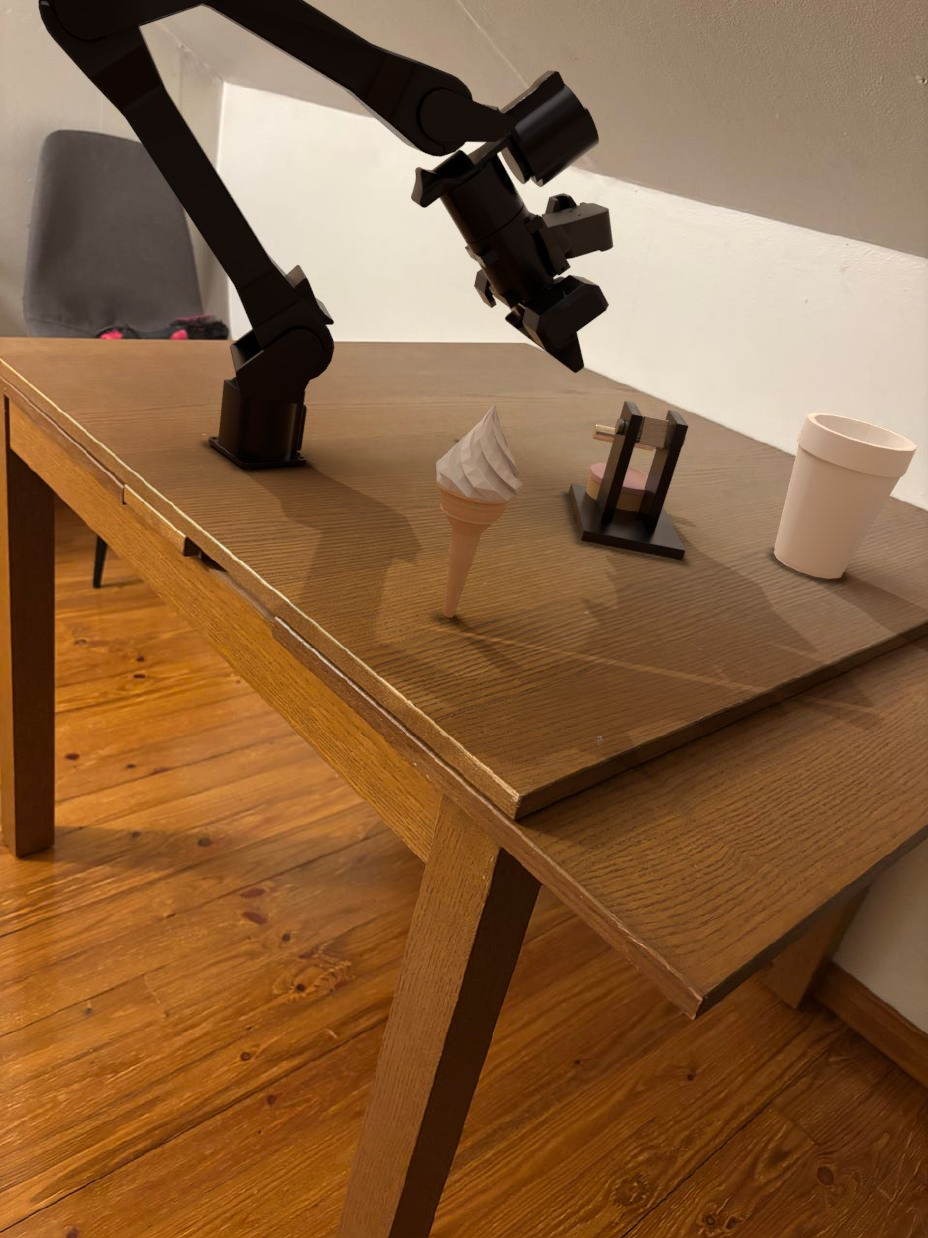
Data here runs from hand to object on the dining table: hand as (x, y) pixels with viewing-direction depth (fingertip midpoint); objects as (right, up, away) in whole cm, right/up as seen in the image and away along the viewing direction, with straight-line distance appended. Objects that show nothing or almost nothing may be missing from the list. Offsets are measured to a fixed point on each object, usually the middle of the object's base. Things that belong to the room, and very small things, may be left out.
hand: (578, 369), depth 91 cm
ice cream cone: (-12, -23, -24) cm, 35 cm away
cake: (+4, -13, +3) cm, 14 cm away
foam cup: (+21, -18, 0) cm, 28 cm away
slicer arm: (+5, -7, 0) cm, 9 cm away
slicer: (+4, -15, -1) cm, 15 cm away
